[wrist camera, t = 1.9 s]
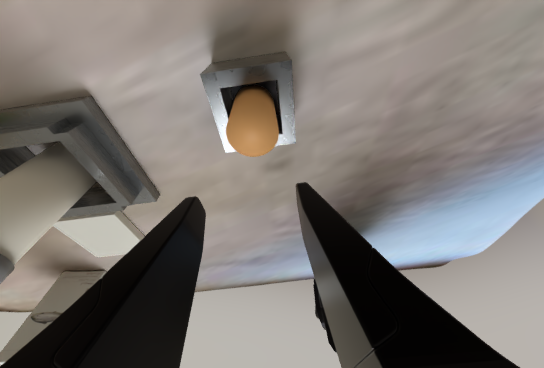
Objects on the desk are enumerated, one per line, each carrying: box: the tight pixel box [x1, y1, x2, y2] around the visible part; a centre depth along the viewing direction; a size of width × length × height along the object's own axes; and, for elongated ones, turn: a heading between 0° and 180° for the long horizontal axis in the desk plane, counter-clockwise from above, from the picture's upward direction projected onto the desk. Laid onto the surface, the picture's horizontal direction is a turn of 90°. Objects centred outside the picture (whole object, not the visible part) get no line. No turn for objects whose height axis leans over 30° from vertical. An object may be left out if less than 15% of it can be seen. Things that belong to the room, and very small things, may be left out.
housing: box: [0, 96, 160, 218], centre depth 20 cm, size 12×12×3 cm
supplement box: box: [0, 271, 107, 365], centre depth 33 cm, size 7×7×13 cm
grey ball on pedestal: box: [0, 142, 97, 284], centre depth 17 cm, size 5×5×12 cm
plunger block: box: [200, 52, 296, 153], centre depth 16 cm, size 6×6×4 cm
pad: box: [53, 211, 145, 257], centre depth 29 cm, size 9×9×1 cm
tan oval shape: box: [226, 84, 279, 157], centre depth 14 cm, size 3×3×5 cm
